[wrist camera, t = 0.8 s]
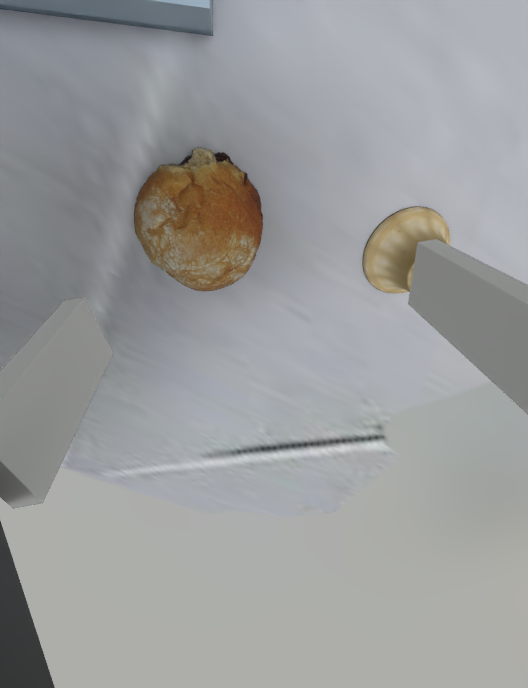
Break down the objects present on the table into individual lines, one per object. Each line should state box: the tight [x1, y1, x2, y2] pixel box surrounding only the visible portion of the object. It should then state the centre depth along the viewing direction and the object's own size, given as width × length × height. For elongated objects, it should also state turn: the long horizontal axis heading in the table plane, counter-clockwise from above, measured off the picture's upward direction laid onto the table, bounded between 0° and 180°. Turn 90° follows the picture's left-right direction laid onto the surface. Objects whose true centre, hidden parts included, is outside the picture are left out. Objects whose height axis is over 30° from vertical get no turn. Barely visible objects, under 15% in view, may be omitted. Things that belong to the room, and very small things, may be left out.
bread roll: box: [134, 147, 263, 291], centre depth 25 cm, size 10×10×8 cm
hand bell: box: [363, 207, 450, 293], centre depth 24 cm, size 8×8×16 cm
